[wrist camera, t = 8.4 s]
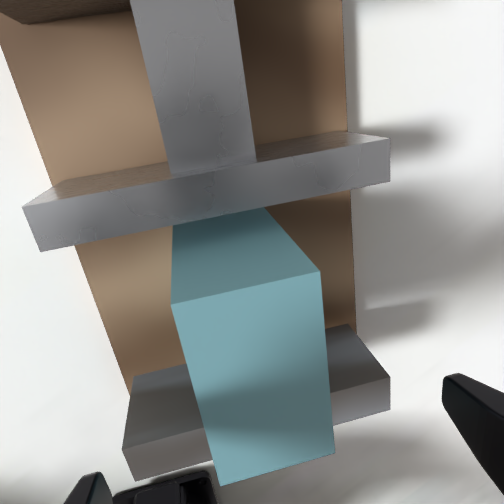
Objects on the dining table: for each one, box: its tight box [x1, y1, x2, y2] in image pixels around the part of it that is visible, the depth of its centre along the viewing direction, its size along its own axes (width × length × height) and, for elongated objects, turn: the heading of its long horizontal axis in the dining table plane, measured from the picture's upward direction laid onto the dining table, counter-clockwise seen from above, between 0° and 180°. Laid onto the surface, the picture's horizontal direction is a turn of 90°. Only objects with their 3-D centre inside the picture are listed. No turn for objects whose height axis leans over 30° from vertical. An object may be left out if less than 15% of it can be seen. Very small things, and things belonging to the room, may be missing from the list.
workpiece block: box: [170, 207, 335, 486], centre depth 15 cm, size 7×4×8 cm, turn 9°
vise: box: [0, 0, 390, 482], centre depth 15 cm, size 20×13×6 cm, turn 9°
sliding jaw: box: [0, 0, 390, 252], centre depth 13 cm, size 8×12×4 cm, turn 99°
